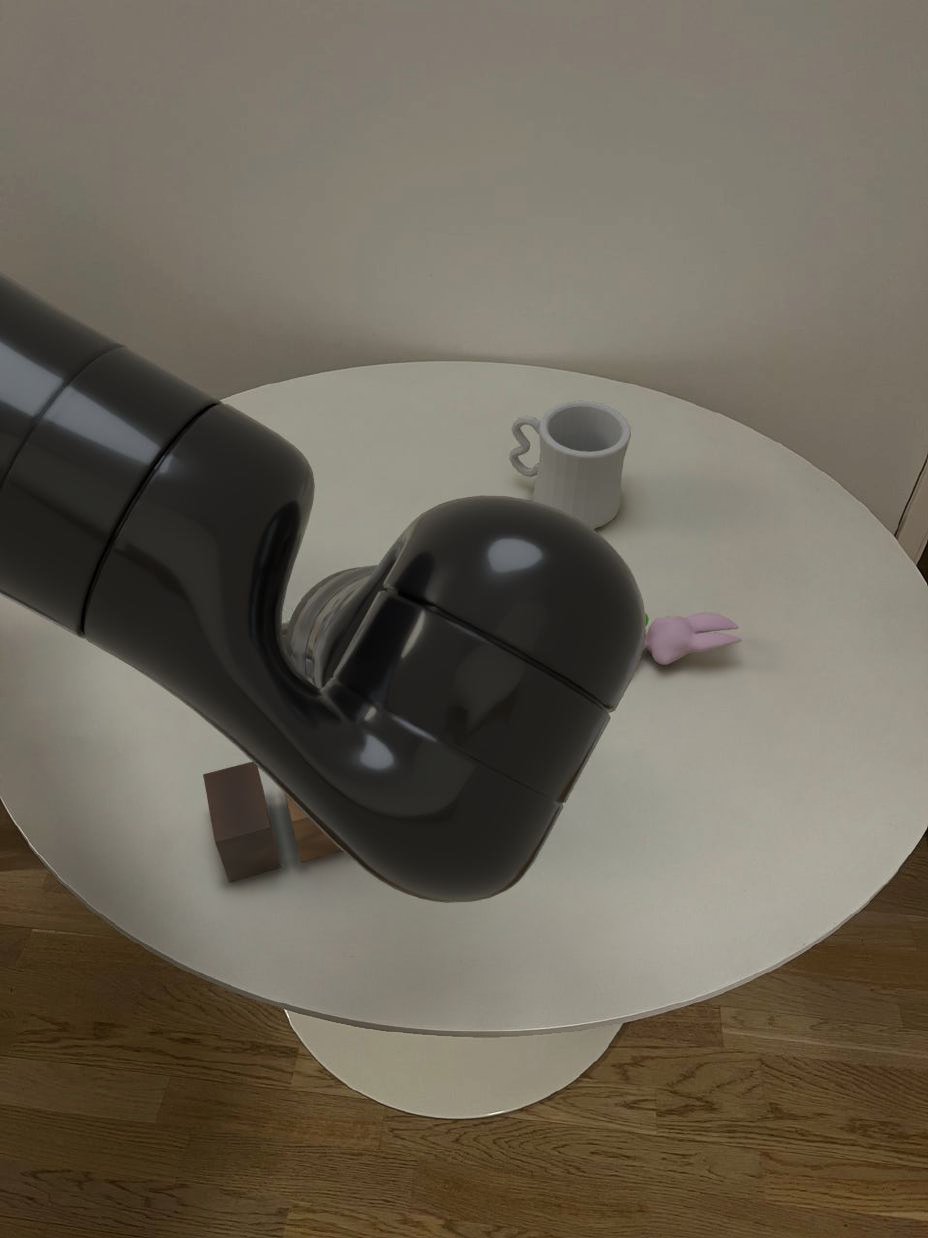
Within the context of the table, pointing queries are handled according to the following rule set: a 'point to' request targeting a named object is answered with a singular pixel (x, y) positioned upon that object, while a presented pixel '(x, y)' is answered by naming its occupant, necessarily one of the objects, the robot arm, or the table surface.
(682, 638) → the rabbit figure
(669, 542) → the table surface
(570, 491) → the mug
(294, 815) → the oak block
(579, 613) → the robot arm
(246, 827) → the walnut block
